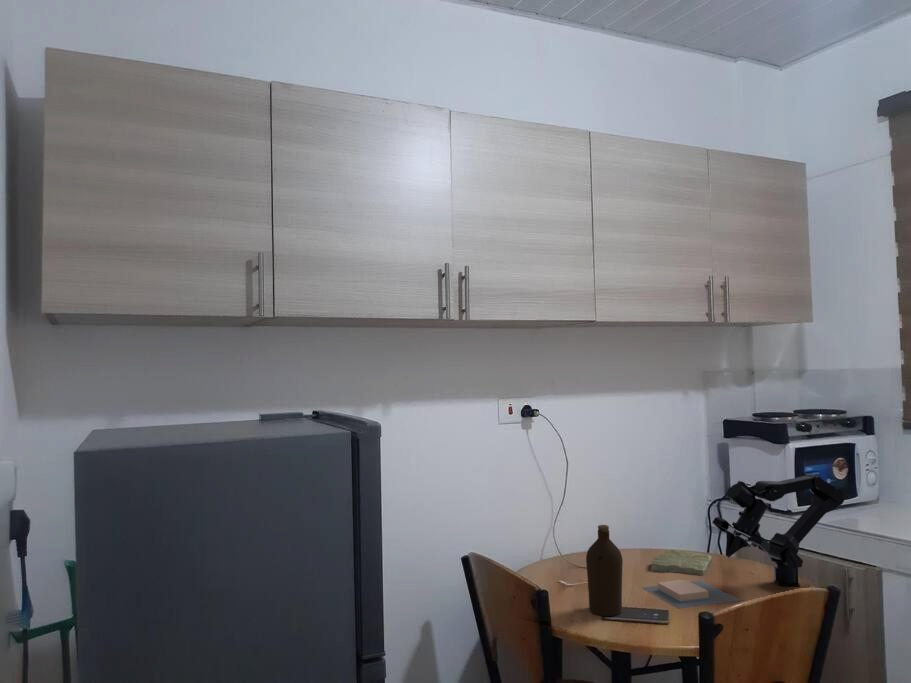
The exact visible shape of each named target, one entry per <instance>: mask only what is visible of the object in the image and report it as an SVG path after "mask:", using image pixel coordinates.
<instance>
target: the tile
mask: <svg viewBox="0 0 911 683" xmlns="http://www.w3.org/2000/svg"><path fill="white" fill-rule="evenodd" d="M691 582H692V581H689V580H688V579H687V580H686V579H685V578H684V579H678V580H669V581H660V582H659V581H658V582H657V586H658V590H659V591H660V592H662V593H664V594H666V595H668V596H669V597H671V598H673V599H675V600H677V601H678V602H680V603H681V602H688V601H696V600H704V599H709V596H708V591H707V590H705V589H703V588H701V587H699V586H697V585H695V584H693V583H691Z"/></svg>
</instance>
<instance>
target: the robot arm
mask: <svg viewBox="0 0 911 683" xmlns="http://www.w3.org/2000/svg"><path fill="white" fill-rule="evenodd" d="M806 490H809V491H810V492H811V493H812V494H813V495H812V499H811V504H810V505H809V506H808V508H807V509H805V510H804V512H803V513H802V514H801V516H799V518H798V519H797V520H796V521H794V523H793V524H792V525H791V527H790V528H789V529H788V530H787V531H786V532H785V533H783V534H781V533H779V532H776V533H774V535H773V536H772V538H770V539H769V540H766V538H764V536H763V537H762V536H761V533H760V531H759V530H760V528H761V524H760V522H761V520H762V518H763V517H764V515H765V513H766V512H768V513H773V512H774V511H773V508H772V504H771V503H769V502H775V501H778V500H780V499H783V497H784V496H785V495H788V494H793V493H796V492H801V491H806ZM726 495H727V498H729V499H730V500H732V501H733V503H735V504H736V505H737V506H738V507H740V508H741V509H743V508H744V509H743V511H739V512H738V516H739V517H738V518H737V519H736V522H735V521H733V522H732V524H731V523H729V522H728V521H727V520H726V519H724V518H721V517H720V516H716V517H714V518H713V520H712V522H711V523H712V524H713V525H714V527H716V528H717V529H718V530H719V531H721V532H723V533H725V534H726V545H725V546H726V547H725V556H726V557H727V558H730V557H732V556H733V555H735V553H737V552H738V551H739V550H740V551H741V549H743V548H751V547H754V548H757V547H758V549H759V550H760V551H763V552H764V553H767V554H768V556H769V557H770V560H771V562H773V563H774V564H775V566H774V567H773V580H774V581H775V582H776V584H777V583H778V584H779V585H778V584H777V585H778V586H784V585H794V586H793V587H801V584H800V582H799V568H802V567H803V563H804V560H803V559H802V558H801V557H800V556H799V555H798V553H799V549H800V544H801V542H802V541H803V540H804V538H806V536H807V535H808V534H809V533H810V532H811V531H812V530H813V529H814V527H815V526H816V525H817V524H818V523H819V522H820V520H821V519H822V518H824V516H825V515H826V514H827V513H829V512H832V511H834V510H837V508H839V507H840V506H842V505H843V503H844V502H845V495H844V493H843V491H842V490H841V489H839V488H837V487H835V486H834V485H832V484H830V483H828V482H827V481H825V480H824V479H823V478H822V477H821V476H819V475H814V474H809V473H808V474H806V475H804V476H803V475H801V476H798V477H793V478H787V479H783V480H779V481H777V480H776V481H775V480H773V481H772V480H759V481H756V482H755V484H754V485H752V486H748V485H747V484H746V482H744V481H741V480H738V482H737V483H735V484H733V485H731V486H730V487H729V488H728V489H727V492H726ZM764 500H765V501H769V502H765V501H764Z"/></svg>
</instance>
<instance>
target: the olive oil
mask: <svg viewBox="0 0 911 683" xmlns="http://www.w3.org/2000/svg"><path fill="white" fill-rule="evenodd" d="M609 529H610V527H609V525H606V524H599V525H598V526H597V539H596V540H595V541H594V542H593V543H592V544H591V545H590V546H589V548H588V549H587V552H586V556H585V562H586V563H585V564H586V574H587V575H586V576H587V590H588V607H589V608H588V609H589V612H591V614H594V615H597V616H601V617H614V616H615V615H616V616H618V614H619V615H620V614H621V613H622V612H621V611H622V610H623V609H622V608H623V607H622V606H623V602H622V601H623V594H622V593H623V561H624V560H623V556H622V553H621V551H620V549H619V547H618V546H617V545H616V544H615V543H614V542H613V541H612V540H611V538H610V530H609ZM616 616H615V617H616Z"/></svg>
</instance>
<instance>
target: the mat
mask: <svg viewBox="0 0 911 683" xmlns="http://www.w3.org/2000/svg"><path fill="white" fill-rule="evenodd" d="M690 582H691V583H693V584H695V585H697V586H699V587H701V588H703V589H705V590H707V591H708V596H709V599H704V600H696V601H688V602H681V603H680V602H678V601H677V600H675V599H673V598H671V597H669V596H668V595H666V594H664V593H662V592H660V591H659V590H658V585H652V586H651V585H650V586H643V587H641V589H643V590H644V591H646V592H647V593H650V594H652V595H654V596H655V597H657V598H659V599H660V600H662V601H664V602H666V603H667V604H669V605H670V606H671V607H674V608H676V609H685V608H691V607H699V606H700V607H701V606H707V605H716V604H721V603H723V604H724V603H731V602H738V601H740V599H739V598H737V597H735V596H734V595H731V594H729V593H727V592H725V591H722V590H721V589H718V588H717V587H715V586H712V585H710V584H709V583H706V582H705V581H702V580H693V581H690Z"/></svg>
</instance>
